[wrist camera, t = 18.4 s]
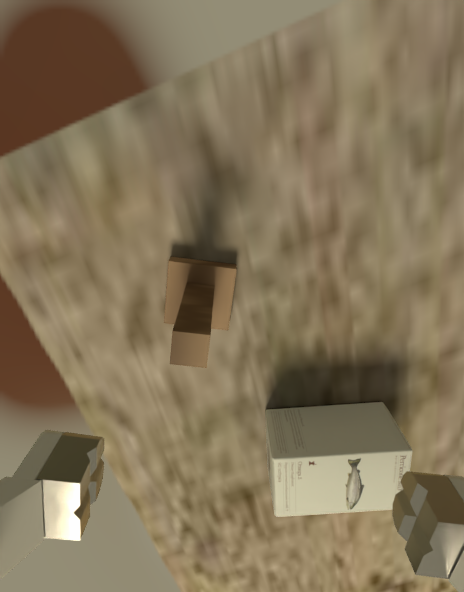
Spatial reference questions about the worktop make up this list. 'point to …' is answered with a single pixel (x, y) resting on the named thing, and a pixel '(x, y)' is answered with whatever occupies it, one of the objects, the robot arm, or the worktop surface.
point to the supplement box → (334, 459)
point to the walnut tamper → (197, 306)
